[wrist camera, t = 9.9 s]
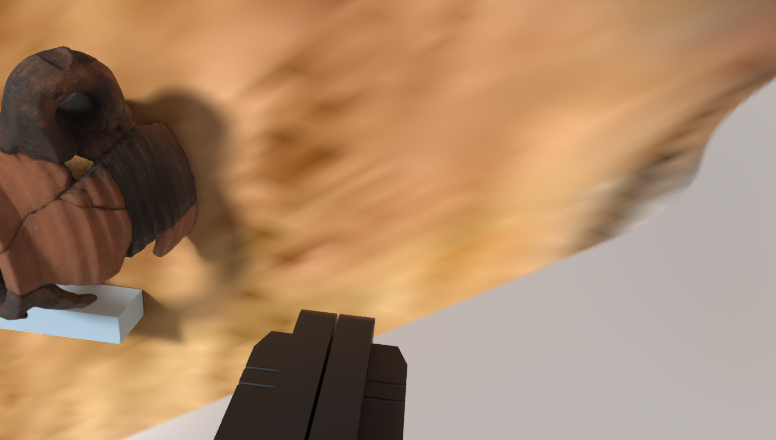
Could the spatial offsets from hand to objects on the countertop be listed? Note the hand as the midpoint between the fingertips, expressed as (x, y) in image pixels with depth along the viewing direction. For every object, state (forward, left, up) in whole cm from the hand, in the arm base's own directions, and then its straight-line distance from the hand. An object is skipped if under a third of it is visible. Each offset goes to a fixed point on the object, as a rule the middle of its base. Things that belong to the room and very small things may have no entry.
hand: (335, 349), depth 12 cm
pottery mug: (+3, -13, -15) cm, 20 cm away
